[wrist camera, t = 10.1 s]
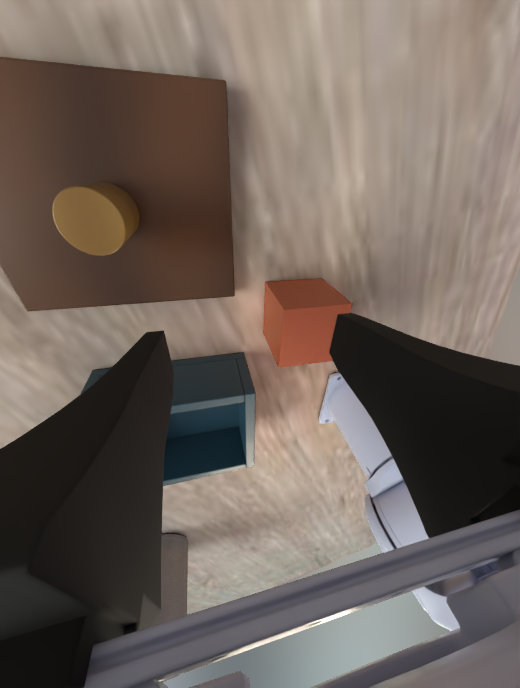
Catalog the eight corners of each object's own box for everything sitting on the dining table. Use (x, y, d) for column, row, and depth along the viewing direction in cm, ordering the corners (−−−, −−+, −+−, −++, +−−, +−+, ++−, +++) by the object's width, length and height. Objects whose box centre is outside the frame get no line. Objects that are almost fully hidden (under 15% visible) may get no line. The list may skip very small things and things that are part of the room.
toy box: (243, 351, 21) (255, 393, 17) (244, 423, 27) (254, 466, 23) (92, 369, 19) (66, 422, 15) (128, 444, 25) (116, 496, 21)
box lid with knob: (224, 86, 12) (238, 47, 8) (232, 291, 18) (243, 321, 14) (-106, 53, 9) (-297, -24, 6) (35, 304, 15) (-13, 346, 12)
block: (322, 278, 19) (353, 303, 15) (313, 328, 22) (338, 360, 18) (265, 281, 18) (283, 309, 14) (263, 333, 21) (278, 368, 17)
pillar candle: (171, 557, 44) (164, 698, 32) (114, 559, 39) (81, 727, 28) (198, 532, 41) (202, 681, 29) (140, 532, 36) (114, 710, 24)
